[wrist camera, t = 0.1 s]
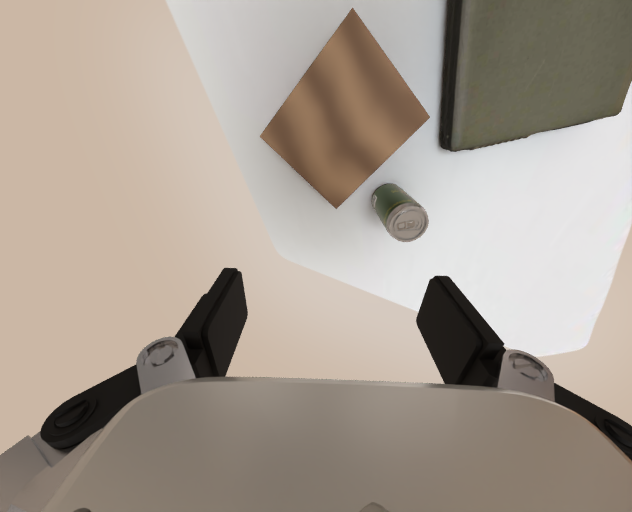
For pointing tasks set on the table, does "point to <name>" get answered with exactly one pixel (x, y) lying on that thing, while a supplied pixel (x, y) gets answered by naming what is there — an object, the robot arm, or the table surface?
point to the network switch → (532, 67)
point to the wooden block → (345, 114)
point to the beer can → (399, 213)
